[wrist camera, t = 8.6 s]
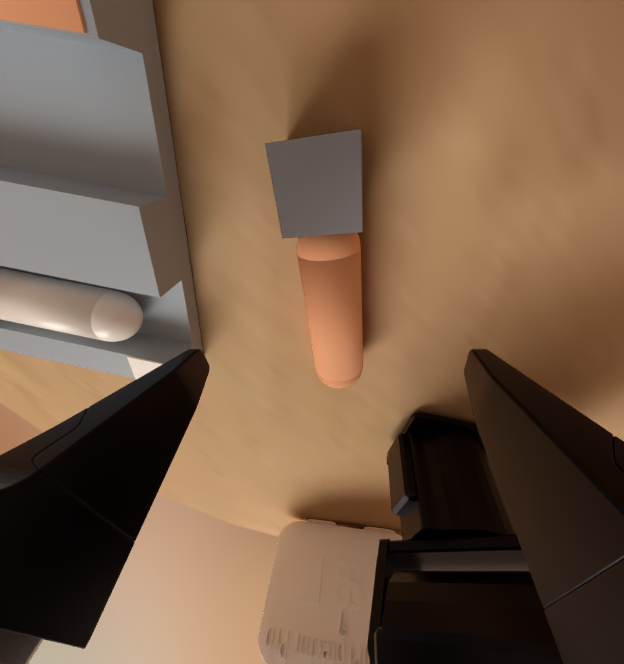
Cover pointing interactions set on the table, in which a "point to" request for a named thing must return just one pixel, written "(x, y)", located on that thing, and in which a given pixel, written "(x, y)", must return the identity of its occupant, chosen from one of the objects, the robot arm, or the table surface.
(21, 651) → the robot arm
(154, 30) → the ribbed grooved tray
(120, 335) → the white-handled mallet
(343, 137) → the orange-handled mallet
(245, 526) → the table surface
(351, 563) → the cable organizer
